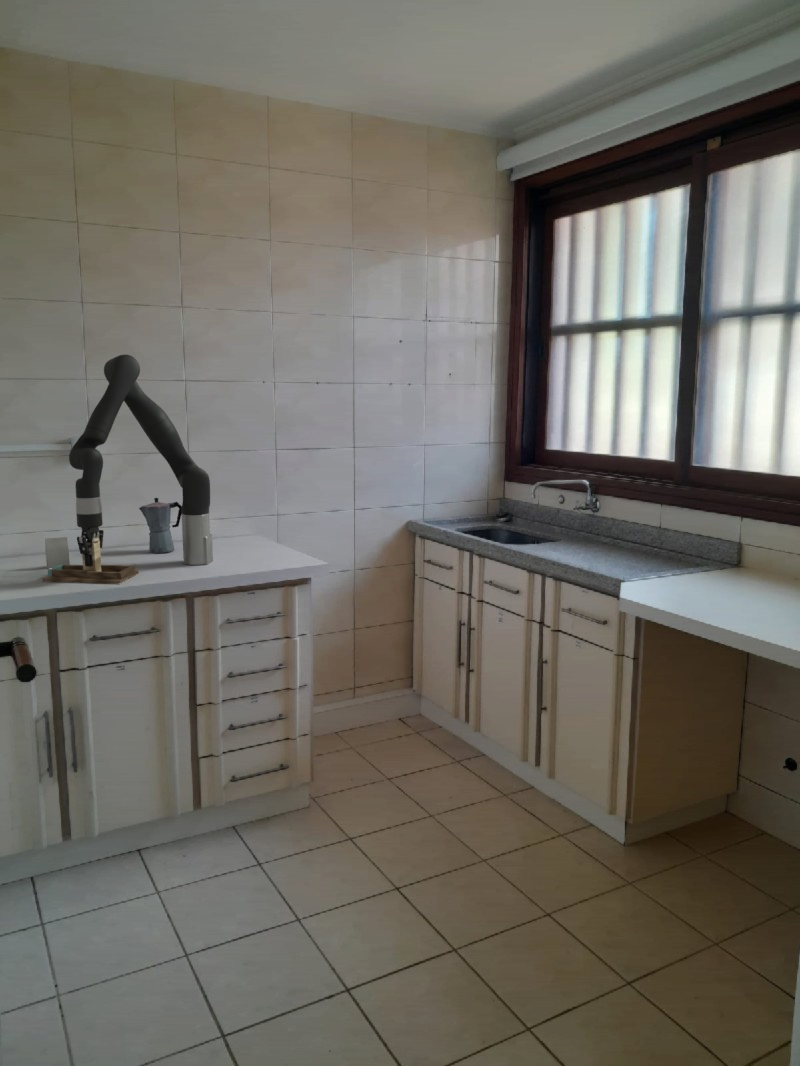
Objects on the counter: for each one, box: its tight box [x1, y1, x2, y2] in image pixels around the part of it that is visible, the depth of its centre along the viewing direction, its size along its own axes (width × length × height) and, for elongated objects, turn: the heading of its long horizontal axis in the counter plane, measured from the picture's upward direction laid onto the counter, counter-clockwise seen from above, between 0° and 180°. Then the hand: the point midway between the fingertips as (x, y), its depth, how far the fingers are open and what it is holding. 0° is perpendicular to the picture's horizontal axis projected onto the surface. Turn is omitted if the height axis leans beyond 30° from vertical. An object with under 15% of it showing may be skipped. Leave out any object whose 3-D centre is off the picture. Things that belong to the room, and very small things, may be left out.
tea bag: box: [44, 536, 71, 570], centre depth 269 cm, size 4×7×10 cm, turn 120°
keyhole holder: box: [42, 564, 140, 584], centre depth 255 cm, size 25×14×3 cm, turn 85°
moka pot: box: [138, 497, 182, 554], centre depth 294 cm, size 10×15×20 cm, turn 115°
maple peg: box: [81, 538, 102, 572], centre depth 254 cm, size 5×5×11 cm
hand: (92, 564), depth 254 cm, fingers closed on maple peg, 4 cm apart
